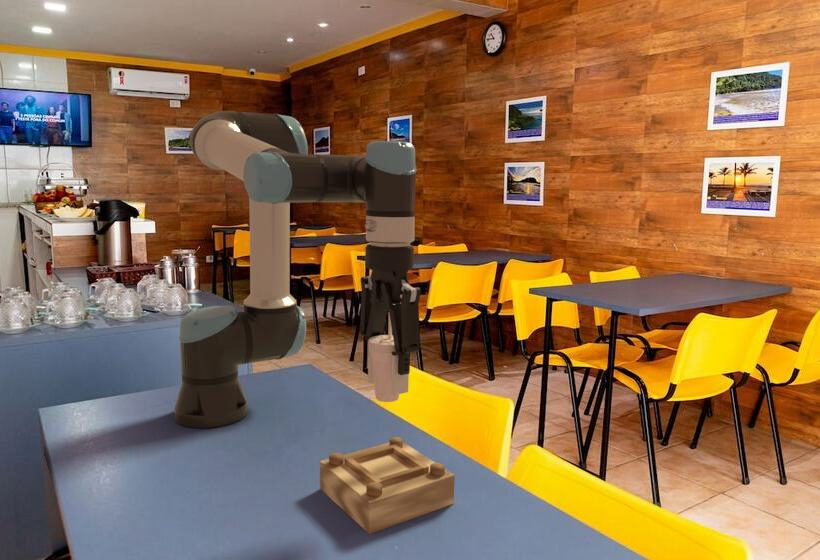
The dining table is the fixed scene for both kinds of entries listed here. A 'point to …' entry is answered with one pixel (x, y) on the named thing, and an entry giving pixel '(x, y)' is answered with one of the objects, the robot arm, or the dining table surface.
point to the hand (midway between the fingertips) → (387, 386)
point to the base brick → (386, 484)
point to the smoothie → (383, 365)
